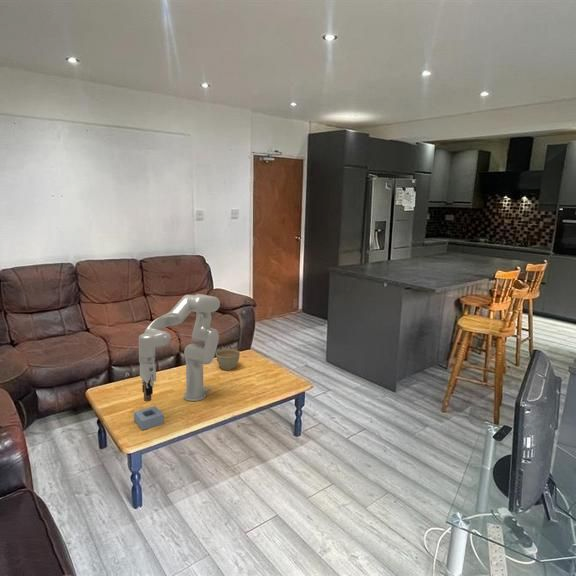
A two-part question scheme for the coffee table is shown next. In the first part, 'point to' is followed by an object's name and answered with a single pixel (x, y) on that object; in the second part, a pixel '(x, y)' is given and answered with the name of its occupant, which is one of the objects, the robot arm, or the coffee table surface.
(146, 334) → the robot arm
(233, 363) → the planter bowl
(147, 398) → the peg
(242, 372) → the coffee table surface
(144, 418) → the socket block
